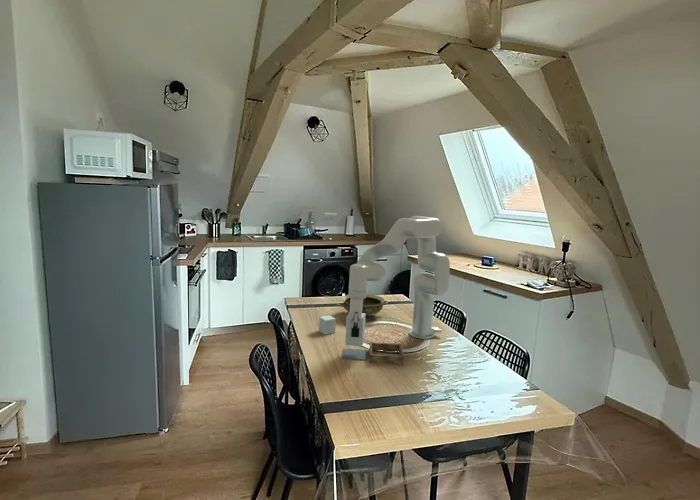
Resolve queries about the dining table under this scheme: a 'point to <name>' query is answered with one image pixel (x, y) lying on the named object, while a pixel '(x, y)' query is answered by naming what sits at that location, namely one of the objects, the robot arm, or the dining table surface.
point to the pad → (354, 354)
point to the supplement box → (359, 340)
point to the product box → (327, 324)
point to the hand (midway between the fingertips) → (355, 333)
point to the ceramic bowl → (366, 304)
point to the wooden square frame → (386, 358)
